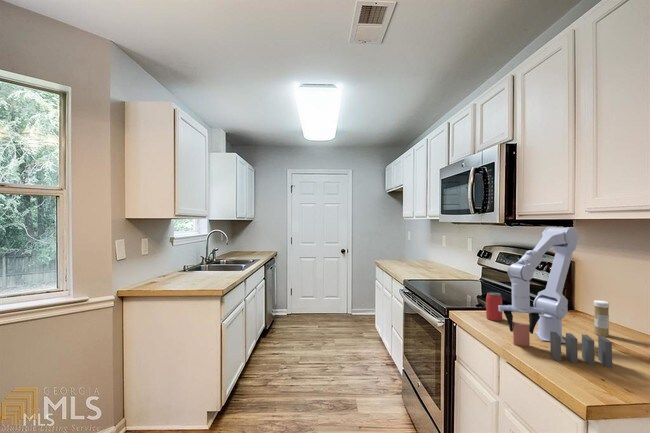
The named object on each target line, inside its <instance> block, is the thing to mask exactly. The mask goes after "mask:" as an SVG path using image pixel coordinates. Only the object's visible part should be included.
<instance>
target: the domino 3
mask: <svg viewBox="0 0 650 433" xmlns="http://www.w3.org/2000/svg"><path fill="white" fill-rule="evenodd" d="M595 354H596V353H595V340H594V339H593V338H592V337H591V336H589V334H581V358H582V360H584V361H585V363H586V364H588V366H589V365H590V366H595V363H596V361H595V359H596V358H595Z"/></svg>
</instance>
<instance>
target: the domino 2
mask: <svg viewBox="0 0 650 433" xmlns="http://www.w3.org/2000/svg"><path fill="white" fill-rule="evenodd" d="M565 341H566V343H565V357H566V358H567V359H568V360H569V361H570V362H571V363H572V364H578V360H579V358H578V355H579V354H578V352H579V350H578V338H577V337H576V336H575V335H574V334H572V333H570V332H569V333H568V332H565Z"/></svg>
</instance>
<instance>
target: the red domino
mask: <svg viewBox="0 0 650 433" xmlns="http://www.w3.org/2000/svg"><path fill="white" fill-rule="evenodd" d="M512 324H513V332H512V344H513V345H514V346H520V347H521V346H522V347H528V348H529V347H530V344H531V343H530V341H531V340H530V332H529V323H524V322H515V321H513V322H512Z"/></svg>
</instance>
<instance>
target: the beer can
mask: <svg viewBox="0 0 650 433" xmlns="http://www.w3.org/2000/svg"><path fill="white" fill-rule="evenodd" d="M485 303H486V304H485V311H486V313H485V315H486V316H485V317H486V318H487V319H488V320H489V321H492V322H493V321H494V322H500V321H502V320H503V312H500V311H499V305H503V298H502V294H501V293H500V292H495V291H488V292H487V294H486V297H485Z"/></svg>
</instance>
